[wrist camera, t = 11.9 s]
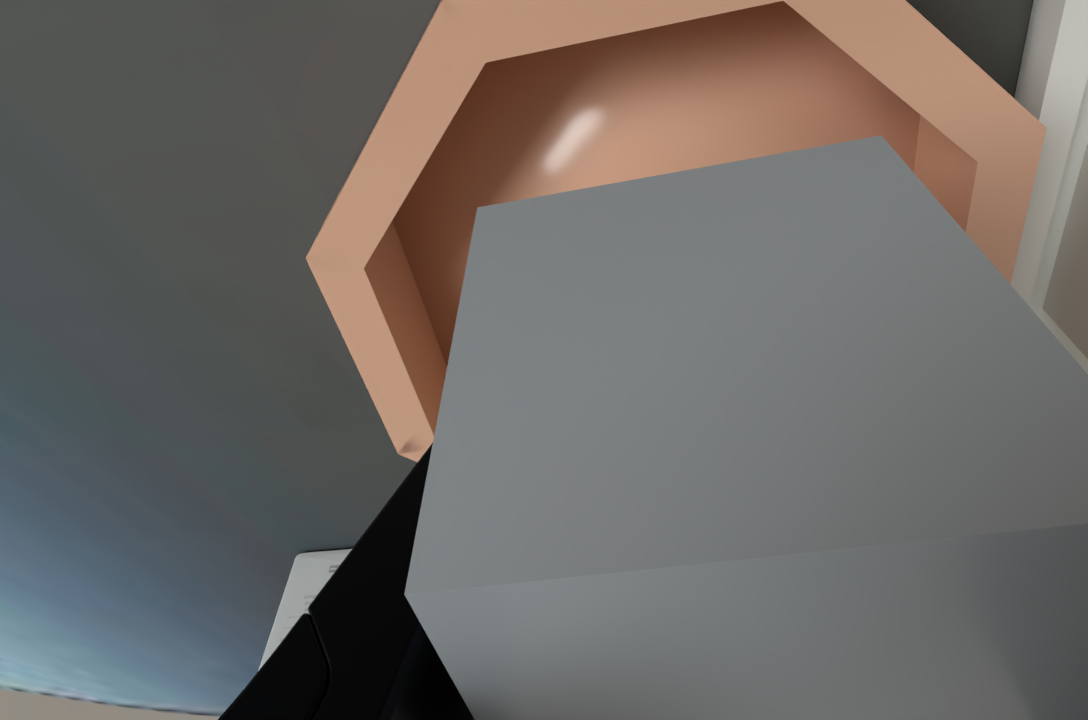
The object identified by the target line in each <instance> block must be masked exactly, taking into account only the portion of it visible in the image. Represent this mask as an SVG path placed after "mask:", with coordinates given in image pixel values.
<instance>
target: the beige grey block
mask: <svg viewBox="0 0 1088 720" xmlns="http://www.w3.org/2000/svg"><path fill="white" fill-rule="evenodd" d="M1043 310H1044V311H1045V312H1046V313H1047V314H1048V315H1049V316H1050V317H1051V319H1052V320H1053V321H1054V322H1055V323H1056V324H1057V325H1058V326H1059V328H1060V329H1061V330H1062V331H1063V332H1064V333H1065V334H1066V335H1067V337H1068V338H1069V339H1070V340H1071V341H1072V342H1073V343H1074V344H1075V346H1076V347H1077V348H1078V349H1079V350H1080V351H1081V352H1082V353H1083V354H1084V356H1085V357H1086V358H1087V359H1088V143H1087V146H1086V150H1085V154H1084V157H1083V161H1082V165H1081V168H1080V172H1079V176H1078V179H1077V183H1076V187H1075V190H1074V194H1073V198H1072V201H1071V205H1070V209H1069V212H1068V216H1067V220H1066V223H1065V227H1064V231H1063V235H1062V238H1061V242H1060V246H1059V249H1058V253H1057V257H1056V260H1055V264H1054V268H1053V271H1052V275H1051V279H1050V282H1049V286H1048V290H1047V293H1046V297H1045V301H1044V304H1043Z"/></svg>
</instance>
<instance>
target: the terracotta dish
mask: <svg viewBox="0 0 1088 720" xmlns="http://www.w3.org/2000/svg"><path fill="white" fill-rule="evenodd" d="M1046 129H1047V127H1046V126H1044V125H1043V124H1042V123H1041V122H1040V121H1039V120H1037V119H1036V118H1035V117H1034V116H1033V115H1032V114H1031V113H1030V112H1029V111H1027V110H1026V109H1025V108H1024V107H1023V106H1022V105H1021V104H1020V103H1019V102H1018V101H1016V100H1015V99H1014V98H1013V97H1012V96H1011V95H1010V94H1009V93H1008V92H1006V91H1005V90H1004V89H1003V88H1002V87H1001V86H1000V85H999V84H998V83H996V82H995V81H994V80H993V79H992V78H991V77H990V76H989V75H988V74H986V73H985V72H984V71H983V70H982V69H981V68H980V67H979V66H978V65H977V64H975V63H974V62H973V61H972V60H971V59H970V58H969V57H968V56H967V55H965V54H964V53H963V52H962V51H961V50H960V49H959V48H958V47H957V46H955V45H954V44H953V43H952V42H951V41H950V40H949V39H948V38H947V37H945V36H944V35H943V34H942V33H941V32H940V31H939V30H938V29H937V28H936V27H934V26H933V25H932V24H931V23H930V22H929V21H928V20H927V19H926V18H924V17H923V16H922V15H921V14H920V13H919V12H918V11H917V10H916V9H914V8H913V7H912V6H911V5H910V4H909V3H908V2H907V1H906V0H441V1H440V3H439V5H438V7H437V9H436V11H435V13H434V14H433V16H432V18H431V20H430V22H429V24H428V26H427V28H426V30H425V32H424V33H423V35H422V37H421V39H420V41H419V43H418V45H417V47H416V49H415V50H414V52H413V54H412V56H411V58H410V60H409V62H408V64H407V66H406V68H405V69H404V71H403V73H402V75H401V77H400V79H399V81H398V83H397V85H396V87H395V88H394V90H393V92H392V94H391V96H390V98H389V100H388V102H387V104H386V106H385V107H384V109H383V111H382V113H381V115H380V117H379V119H378V121H377V123H376V125H375V126H374V128H373V130H372V132H371V134H370V136H369V138H368V140H367V142H366V143H365V145H364V147H363V149H362V151H361V153H360V155H359V157H358V159H357V161H356V162H355V164H354V166H353V168H352V170H351V172H350V174H349V176H348V178H347V180H346V181H345V183H344V185H343V187H342V189H341V191H340V192H339V194H338V196H337V198H336V200H335V202H334V204H333V206H332V208H331V210H330V212H329V214H328V216H327V218H326V220H325V222H324V224H323V226H322V228H321V229H320V231H319V233H318V235H317V237H316V239H315V241H314V243H313V245H312V247H311V249H310V251H309V253H308V255H307V257H306V260H307V262H308V264H309V266H310V268H311V270H312V272H313V275H314V277H315V279H316V281H317V283H318V285H319V287H320V289H321V292H322V294H323V296H324V298H325V300H326V302H327V304H328V306H329V308H330V311H331V313H332V315H333V317H334V319H335V321H336V323H337V325H338V328H339V330H340V332H341V334H342V336H343V338H344V340H345V342H346V345H347V347H348V349H349V351H350V353H351V355H352V357H353V359H354V361H355V364H356V366H357V368H358V370H359V372H360V374H361V376H362V378H363V381H364V383H365V385H366V387H367V389H368V391H369V393H370V395H371V397H372V400H373V402H374V404H375V406H376V408H377V410H378V412H379V414H380V417H381V419H382V421H383V423H384V425H385V427H386V429H387V431H388V433H389V436H390V438H391V440H392V442H393V444H394V446H395V448H396V450H397V453H398V454H400V455H402V456H404V457H407V458H409V459H411V460H413V461H416V462H418V461H419V460H420V458H421V457H422V456H423V454H424V453H425V452H426V451H427V449H428V448H429V447H430V445H431V444H432V443H433V440H434V435H435V429H436V424H437V419H438V413H439V408H440V403H441V397H442V392H443V387H444V382H445V376H446V371H447V366H448V360H449V355H450V350H451V344H452V339H453V334H454V329H455V323H456V318H457V313H458V307H459V302H460V297H461V291H462V286H463V281H464V276H465V270H466V265H467V260H468V254H469V249H470V244H471V239H472V233H473V228H474V223H475V217H476V212H477V208H478V207H483V206H489V205H494V204H500V203H506V202H511V201H517V200H522V199H528V198H534V197H539V196H545V195H550V194H556V193H561V192H567V191H573V190H578V189H584V188H589V187H595V186H601V185H606V184H612V183H617V182H623V181H629V180H634V179H640V178H645V177H651V176H657V175H662V174H668V173H673V172H679V171H685V170H690V169H696V168H701V167H707V166H712V165H718V164H724V163H729V162H735V161H740V160H746V159H752V158H757V157H763V156H768V155H774V154H780V153H785V152H791V151H796V150H802V149H808V148H813V147H819V146H824V145H830V144H836V143H841V142H847V141H852V140H858V139H863V138H869V137H875V136H880V135H882V136H883V138H884V139H885V140H886V141H887V142H888V143H889V145H890V146H891V147H892V148H893V149H894V150H895V152H896V153H897V154H898V155H899V156H900V157H901V158H902V160H903V161H904V162H905V163H906V164H907V165H908V167H909V168H910V169H911V170H912V171H913V172H914V174H915V175H916V176H917V177H918V178H919V179H920V180H921V182H922V183H923V184H924V185H925V186H926V187H927V189H928V190H929V191H930V192H931V193H932V194H933V196H934V197H935V198H936V199H937V200H938V201H939V202H940V204H941V205H942V206H943V207H944V208H945V209H946V211H947V212H948V213H949V214H950V215H951V216H952V217H953V219H954V220H955V221H956V222H957V223H958V224H959V226H960V227H961V228H962V229H963V230H964V231H965V233H966V234H967V235H968V236H969V237H970V238H971V239H972V241H973V242H974V243H975V244H976V245H977V246H978V248H979V249H980V250H981V251H982V252H983V253H984V255H985V256H986V257H987V258H988V259H989V260H990V261H991V263H992V264H993V265H994V266H995V267H996V268H997V270H998V271H999V272H1000V273H1001V274H1002V275H1003V277H1004V278H1005V279H1006V280H1007V281H1008V282H1009V283H1010V284H1011V279H1012V275H1013V271H1014V267H1015V262H1016V258H1017V254H1018V249H1019V245H1020V241H1021V237H1022V232H1023V228H1024V224H1025V219H1026V215H1027V211H1028V206H1029V202H1030V198H1031V194H1032V189H1033V185H1034V181H1035V176H1036V172H1037V168H1038V164H1039V159H1040V155H1041V151H1042V146H1043V142H1044V138H1045V133H1046Z"/></svg>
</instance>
